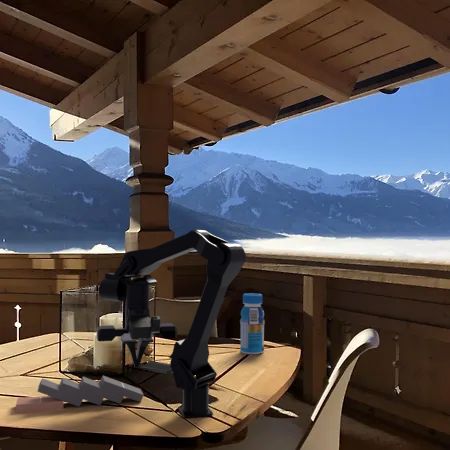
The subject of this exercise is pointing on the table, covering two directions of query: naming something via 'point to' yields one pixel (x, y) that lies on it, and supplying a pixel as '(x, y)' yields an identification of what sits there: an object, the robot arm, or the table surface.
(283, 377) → the table surface
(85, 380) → the domino
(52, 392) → the domino
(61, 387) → the domino
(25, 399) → the domino
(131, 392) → the domino
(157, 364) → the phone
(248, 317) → the beverage bottle
